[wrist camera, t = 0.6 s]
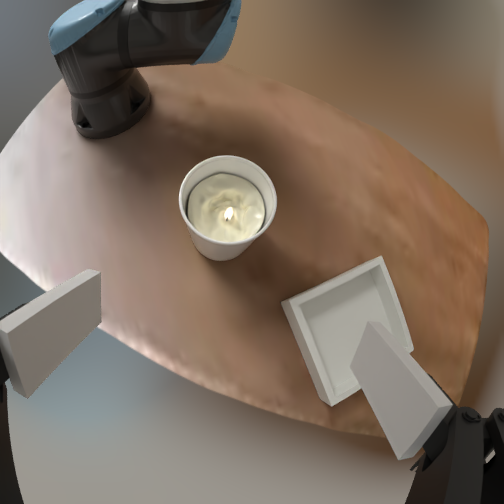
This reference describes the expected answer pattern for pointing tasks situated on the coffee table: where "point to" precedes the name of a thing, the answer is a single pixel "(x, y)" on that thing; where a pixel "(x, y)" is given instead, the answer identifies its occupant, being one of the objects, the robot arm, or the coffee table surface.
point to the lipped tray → (343, 324)
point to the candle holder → (226, 205)
